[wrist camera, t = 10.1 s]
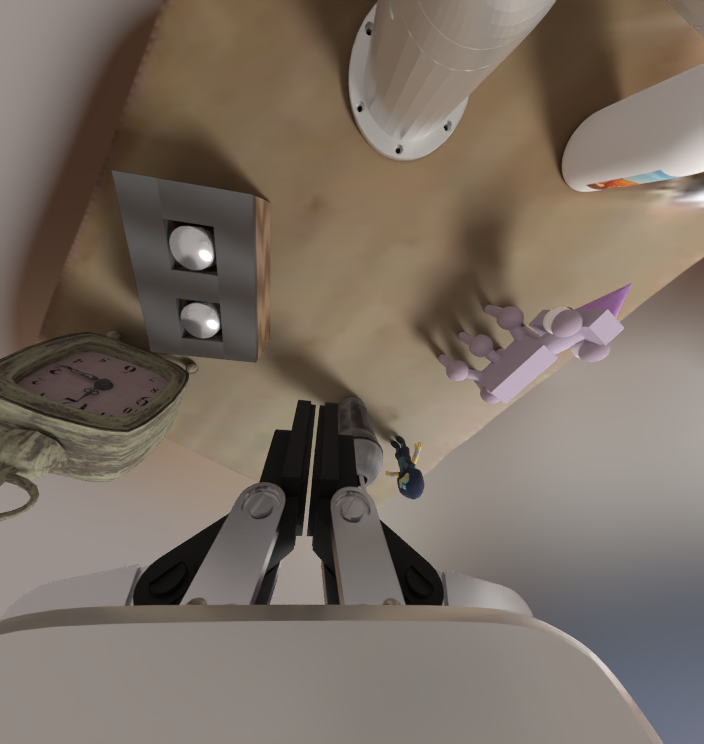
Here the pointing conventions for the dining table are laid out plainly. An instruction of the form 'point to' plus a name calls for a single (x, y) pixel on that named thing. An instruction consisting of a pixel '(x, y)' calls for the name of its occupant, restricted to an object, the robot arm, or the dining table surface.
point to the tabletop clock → (83, 409)
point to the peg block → (213, 284)
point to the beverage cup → (361, 440)
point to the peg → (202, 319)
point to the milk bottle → (641, 137)
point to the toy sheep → (538, 344)
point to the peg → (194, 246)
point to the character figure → (407, 470)
